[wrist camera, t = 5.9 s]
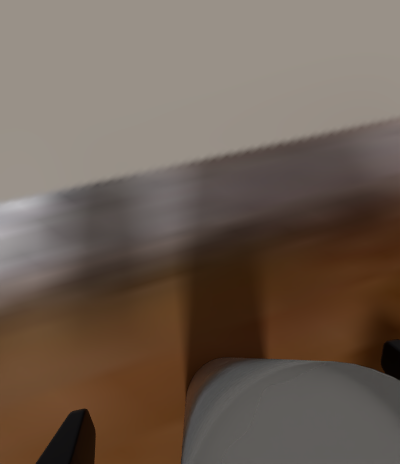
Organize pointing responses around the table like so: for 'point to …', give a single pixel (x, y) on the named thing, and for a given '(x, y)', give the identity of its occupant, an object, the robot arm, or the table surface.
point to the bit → (291, 413)
